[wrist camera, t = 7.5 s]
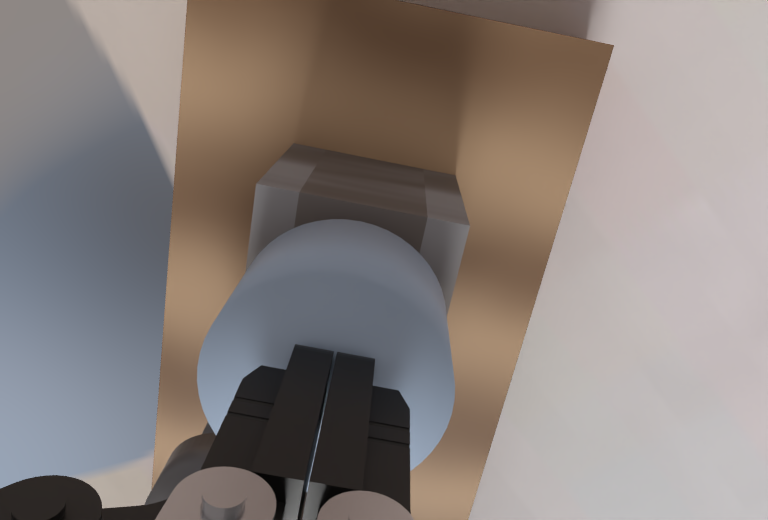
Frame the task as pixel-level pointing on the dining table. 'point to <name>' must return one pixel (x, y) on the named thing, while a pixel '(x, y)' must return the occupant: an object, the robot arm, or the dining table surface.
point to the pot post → (182, 464)
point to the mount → (376, 180)
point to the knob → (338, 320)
